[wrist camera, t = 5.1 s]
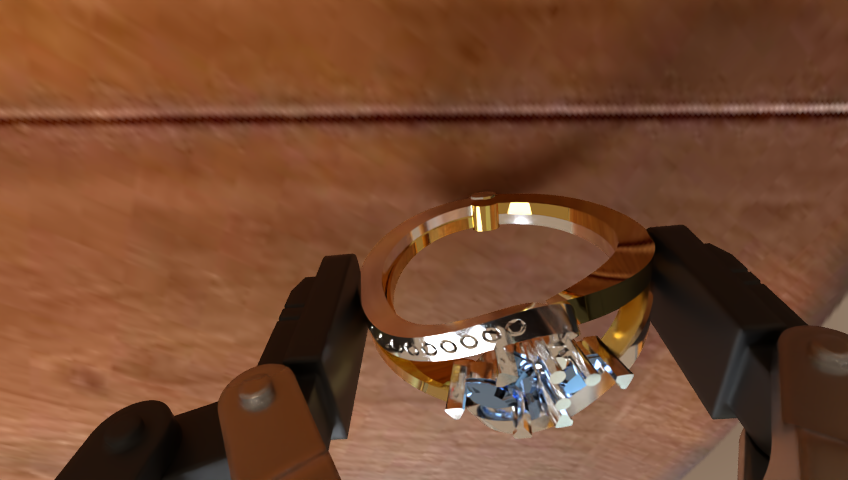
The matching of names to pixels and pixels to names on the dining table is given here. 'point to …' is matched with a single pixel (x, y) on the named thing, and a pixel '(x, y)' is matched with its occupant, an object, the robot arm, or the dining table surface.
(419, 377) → the ring
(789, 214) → the dining table surface
